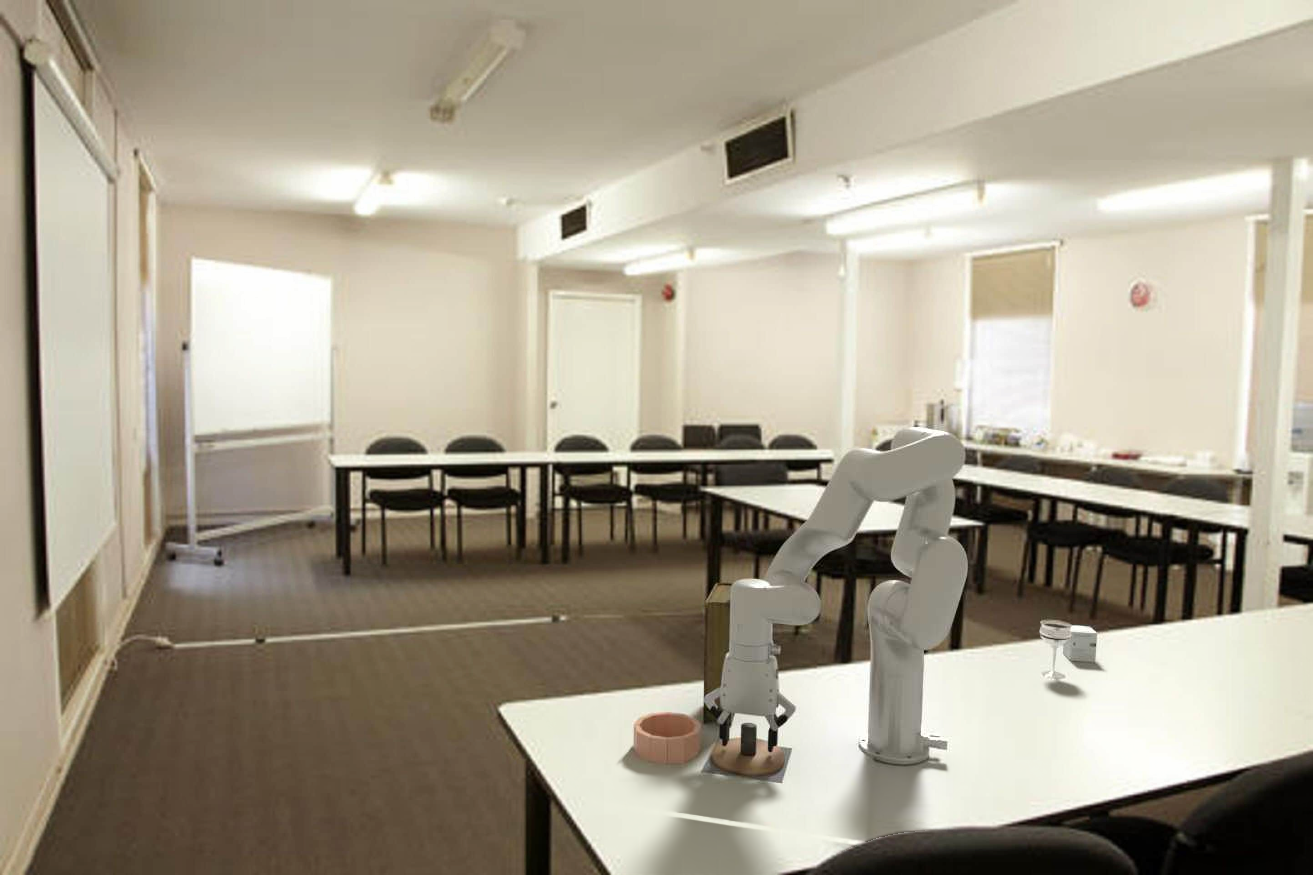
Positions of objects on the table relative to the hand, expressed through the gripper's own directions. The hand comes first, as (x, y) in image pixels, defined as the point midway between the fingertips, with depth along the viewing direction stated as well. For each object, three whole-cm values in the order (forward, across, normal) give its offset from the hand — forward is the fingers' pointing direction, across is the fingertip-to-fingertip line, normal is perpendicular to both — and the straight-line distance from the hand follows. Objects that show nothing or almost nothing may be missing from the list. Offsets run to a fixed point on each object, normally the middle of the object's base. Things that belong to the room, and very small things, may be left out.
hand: (748, 745), depth 158 cm
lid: (+3, 0, 0) cm, 3 cm away
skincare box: (+3, -68, -81) cm, 106 cm away
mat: (+3, 0, 0) cm, 3 cm away
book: (+3, +9, -21) cm, 23 cm away
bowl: (+3, +15, 0) cm, 15 cm away
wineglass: (+3, -60, -66) cm, 89 cm away
